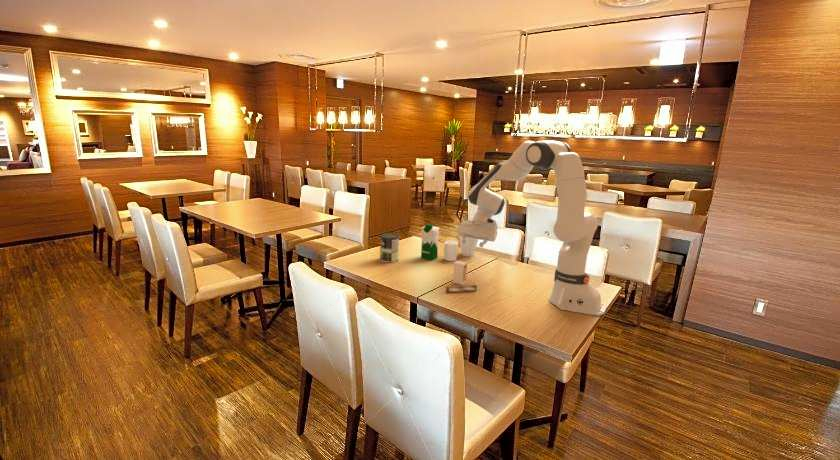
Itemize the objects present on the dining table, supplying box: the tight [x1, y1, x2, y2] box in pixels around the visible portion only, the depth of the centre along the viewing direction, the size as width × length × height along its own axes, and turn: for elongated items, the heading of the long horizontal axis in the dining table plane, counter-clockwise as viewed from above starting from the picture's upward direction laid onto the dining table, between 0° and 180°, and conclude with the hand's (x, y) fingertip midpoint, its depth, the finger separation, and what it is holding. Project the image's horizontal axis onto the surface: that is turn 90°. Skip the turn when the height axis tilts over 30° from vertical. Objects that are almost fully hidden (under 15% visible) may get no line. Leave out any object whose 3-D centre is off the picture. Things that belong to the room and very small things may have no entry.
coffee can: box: [379, 232, 400, 263], centre depth 213 cm, size 10×10×14 cm
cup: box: [458, 235, 479, 257], centre depth 228 cm, size 12×12×14 cm
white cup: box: [443, 240, 459, 262], centre depth 218 cm, size 8×8×10 cm
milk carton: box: [420, 223, 440, 261], centre depth 218 cm, size 9×9×20 cm
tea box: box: [452, 260, 468, 286], centre depth 183 cm, size 5×4×10 cm
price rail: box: [445, 284, 478, 294], centre depth 173 cm, size 14×2×2 cm, turn 104°
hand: (471, 244), depth 191 cm, fingers open, 8 cm apart
